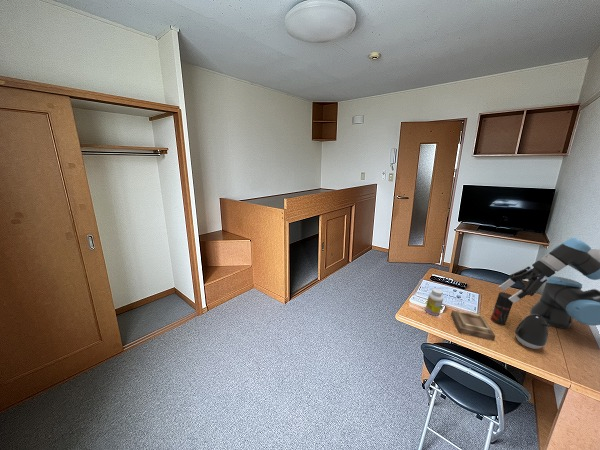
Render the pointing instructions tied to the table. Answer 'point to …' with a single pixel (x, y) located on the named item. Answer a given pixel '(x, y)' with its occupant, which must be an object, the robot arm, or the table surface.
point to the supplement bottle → (434, 302)
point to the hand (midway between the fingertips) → (505, 294)
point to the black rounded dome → (533, 331)
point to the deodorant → (502, 308)
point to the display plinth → (472, 325)
